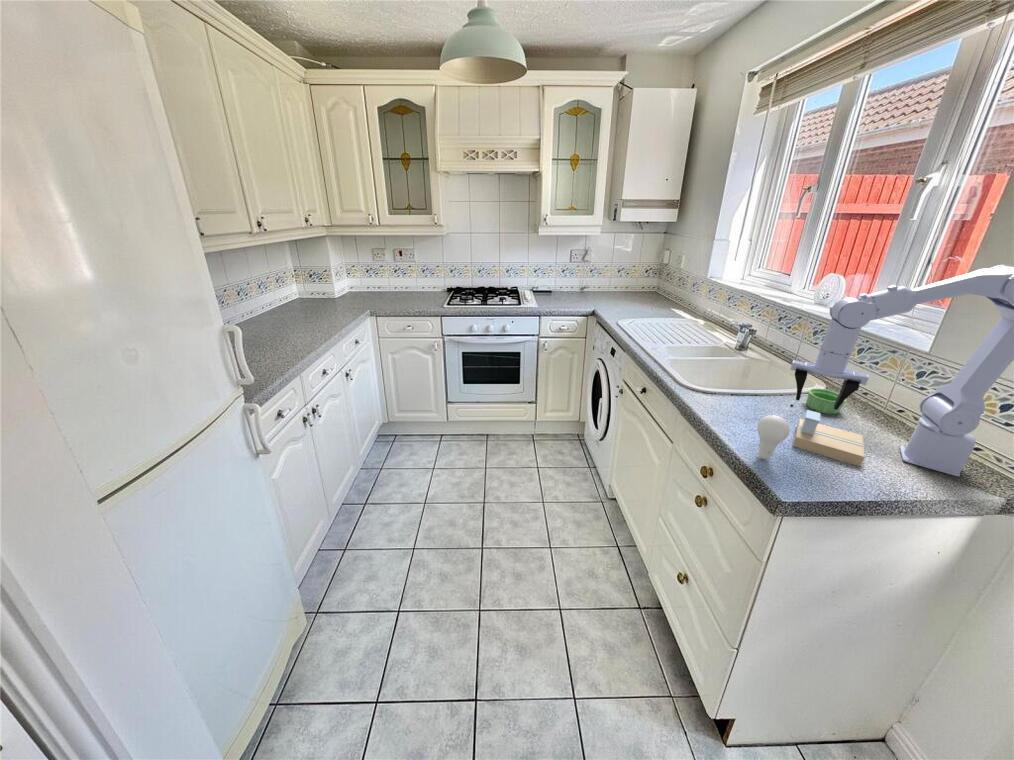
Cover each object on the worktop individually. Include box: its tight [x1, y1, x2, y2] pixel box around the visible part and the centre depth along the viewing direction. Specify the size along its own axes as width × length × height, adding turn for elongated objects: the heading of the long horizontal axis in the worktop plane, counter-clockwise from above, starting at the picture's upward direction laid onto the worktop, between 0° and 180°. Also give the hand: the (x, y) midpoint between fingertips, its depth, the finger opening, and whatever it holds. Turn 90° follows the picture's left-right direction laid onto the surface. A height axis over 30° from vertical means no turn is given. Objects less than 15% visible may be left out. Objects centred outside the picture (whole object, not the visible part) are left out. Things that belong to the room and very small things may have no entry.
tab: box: [801, 409, 821, 435], centre depth 101 cm, size 3×5×4 cm, turn 143°
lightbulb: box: [756, 414, 791, 460], centre depth 92 cm, size 6×6×11 cm
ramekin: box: [805, 387, 847, 415], centre depth 119 cm, size 9×9×4 cm
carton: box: [792, 418, 865, 467], centre depth 100 cm, size 13×12×3 cm
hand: (816, 403), depth 99 cm, fingers open, 7 cm apart
